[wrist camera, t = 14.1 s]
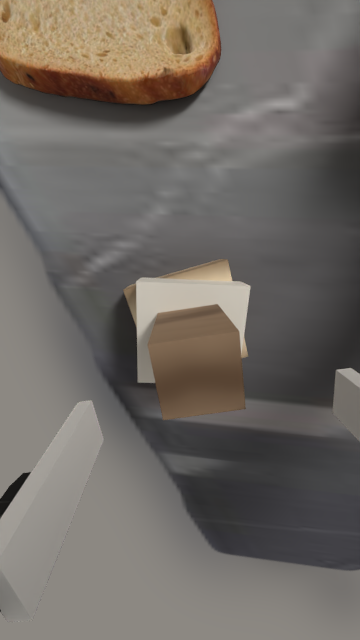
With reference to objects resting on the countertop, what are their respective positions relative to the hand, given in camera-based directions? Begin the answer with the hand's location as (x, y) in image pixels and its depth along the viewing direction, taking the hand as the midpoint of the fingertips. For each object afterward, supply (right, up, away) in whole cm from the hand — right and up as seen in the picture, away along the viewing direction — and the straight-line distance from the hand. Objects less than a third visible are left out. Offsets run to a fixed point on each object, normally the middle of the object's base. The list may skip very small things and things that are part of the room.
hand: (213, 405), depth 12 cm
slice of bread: (-9, +31, +10) cm, 34 cm away
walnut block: (-1, +3, +11) cm, 11 cm away
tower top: (-1, +4, +14) cm, 15 cm away
